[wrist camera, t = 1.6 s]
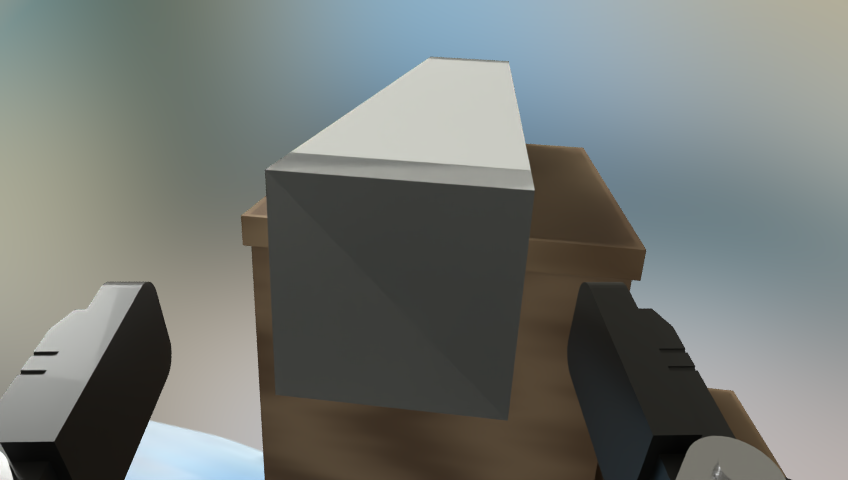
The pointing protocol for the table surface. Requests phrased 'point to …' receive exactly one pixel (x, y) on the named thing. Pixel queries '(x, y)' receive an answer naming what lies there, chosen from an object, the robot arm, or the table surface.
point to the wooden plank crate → (533, 370)
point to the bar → (405, 246)
